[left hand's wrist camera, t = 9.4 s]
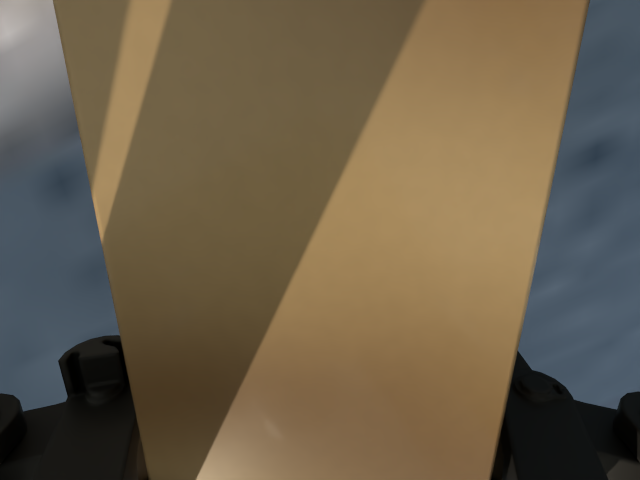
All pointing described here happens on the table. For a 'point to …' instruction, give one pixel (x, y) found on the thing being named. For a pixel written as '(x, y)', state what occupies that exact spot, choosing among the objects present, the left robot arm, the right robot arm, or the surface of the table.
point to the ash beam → (320, 222)
